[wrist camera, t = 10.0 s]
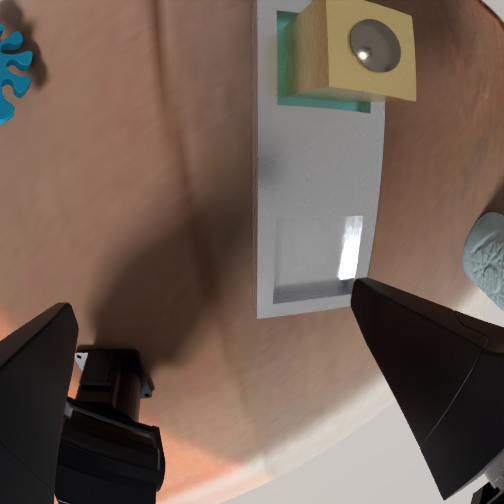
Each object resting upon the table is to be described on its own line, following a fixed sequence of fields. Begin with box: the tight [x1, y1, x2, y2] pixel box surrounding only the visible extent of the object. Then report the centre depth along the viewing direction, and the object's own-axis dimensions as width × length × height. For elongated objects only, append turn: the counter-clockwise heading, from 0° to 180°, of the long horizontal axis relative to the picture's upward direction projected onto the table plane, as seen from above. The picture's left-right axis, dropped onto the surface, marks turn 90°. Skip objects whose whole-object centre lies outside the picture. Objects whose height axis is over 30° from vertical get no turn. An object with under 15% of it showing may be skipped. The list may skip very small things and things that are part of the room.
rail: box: [252, 0, 385, 319], centre depth 20 cm, size 23×9×2 cm, turn 0°
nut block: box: [283, 0, 416, 103], centre depth 14 cm, size 5×5×7 cm
